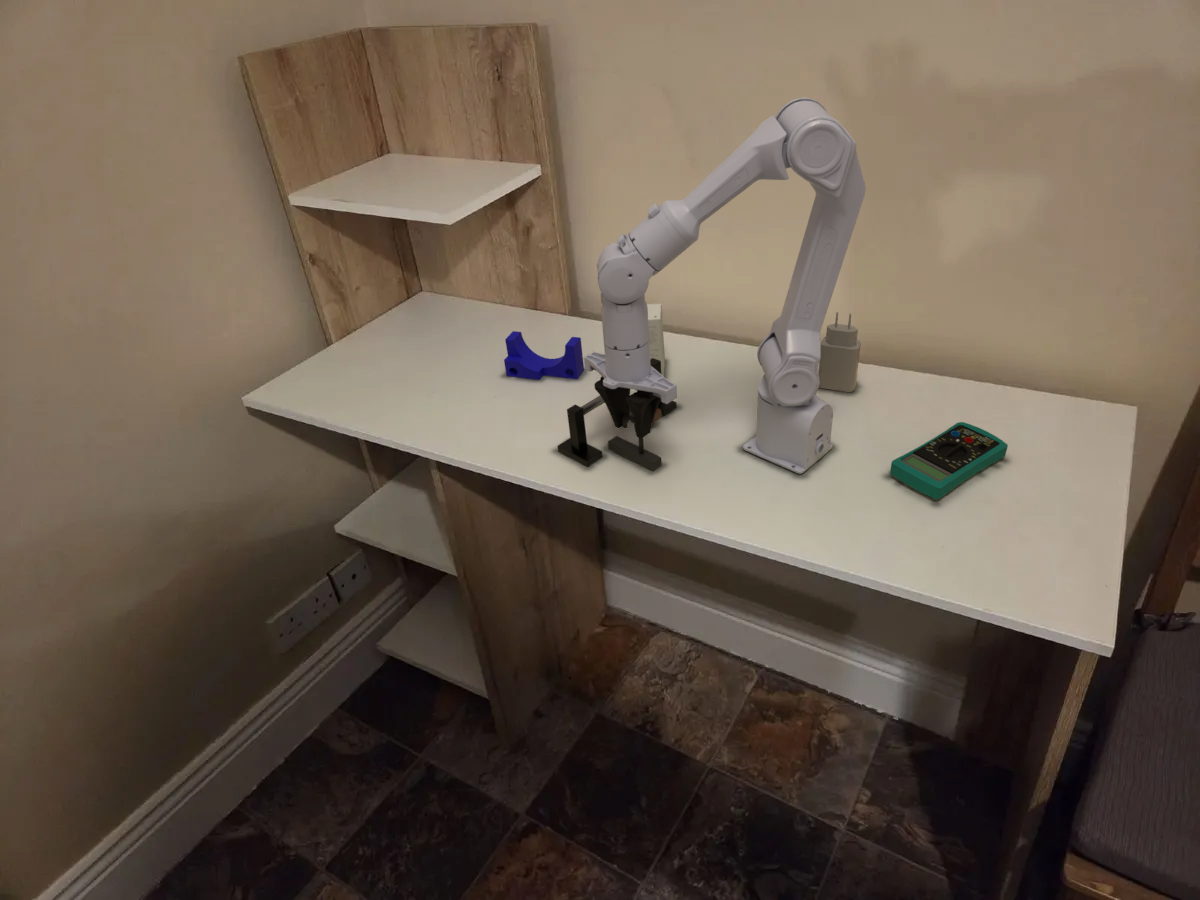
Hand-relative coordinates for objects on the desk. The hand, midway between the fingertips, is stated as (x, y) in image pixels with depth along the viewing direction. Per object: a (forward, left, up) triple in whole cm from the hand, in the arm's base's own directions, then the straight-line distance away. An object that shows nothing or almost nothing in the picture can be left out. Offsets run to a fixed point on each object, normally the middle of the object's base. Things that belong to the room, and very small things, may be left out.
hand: (632, 429), depth 109 cm
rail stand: (+6, -4, -5) cm, 9 cm away
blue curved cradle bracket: (+27, -8, -5) cm, 29 cm away
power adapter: (-12, -33, -1) cm, 35 cm away
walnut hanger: (+6, -8, -3) cm, 11 cm away
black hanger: (0, 0, -5) cm, 5 cm away
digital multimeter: (-34, -23, -5) cm, 41 cm away
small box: (+15, -18, -5) cm, 24 cm away
